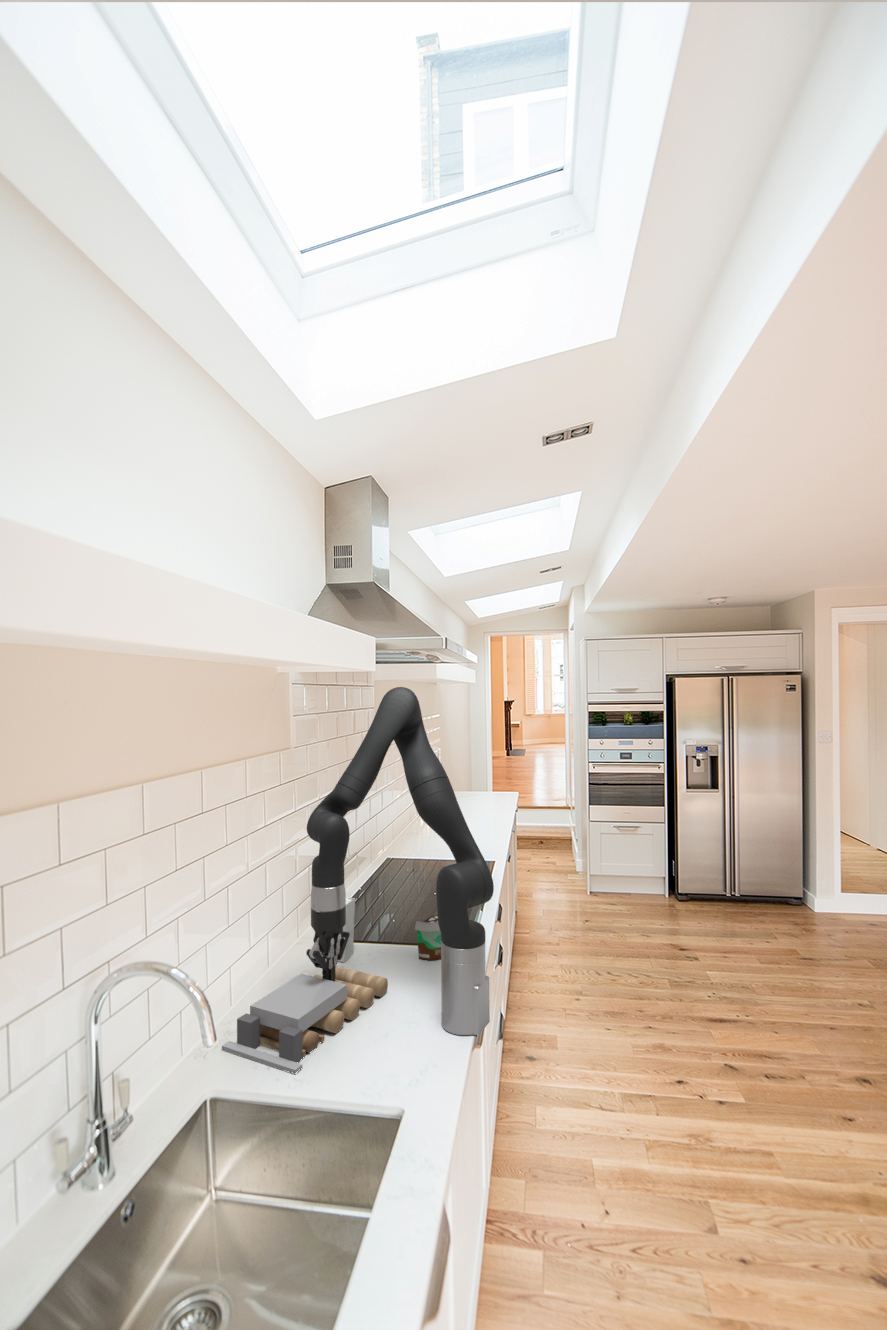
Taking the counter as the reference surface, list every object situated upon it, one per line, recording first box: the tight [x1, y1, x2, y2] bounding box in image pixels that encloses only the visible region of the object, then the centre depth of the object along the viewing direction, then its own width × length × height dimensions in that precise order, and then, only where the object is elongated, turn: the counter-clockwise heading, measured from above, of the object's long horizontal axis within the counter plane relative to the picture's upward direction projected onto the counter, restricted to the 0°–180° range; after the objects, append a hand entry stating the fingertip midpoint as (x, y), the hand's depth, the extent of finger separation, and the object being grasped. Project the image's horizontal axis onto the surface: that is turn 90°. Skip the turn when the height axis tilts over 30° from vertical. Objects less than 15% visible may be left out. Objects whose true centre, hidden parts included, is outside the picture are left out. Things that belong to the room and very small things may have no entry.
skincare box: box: [337, 896, 356, 963], centre depth 173 cm, size 8×6×15 cm
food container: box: [414, 914, 441, 962], centre depth 173 cm, size 12×6×10 cm, turn 143°
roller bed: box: [260, 965, 389, 1059], centre depth 143 cm, size 15×30×4 cm, turn 153°
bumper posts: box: [221, 1012, 303, 1073], centre depth 127 cm, size 18×4×6 cm, turn 63°
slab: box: [249, 973, 347, 1032], centre depth 137 cm, size 12×16×3 cm
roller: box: [260, 1024, 319, 1054], centre depth 132 cm, size 14×4×4 cm, turn 63°
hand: (329, 983), depth 145 cm, fingers closed
